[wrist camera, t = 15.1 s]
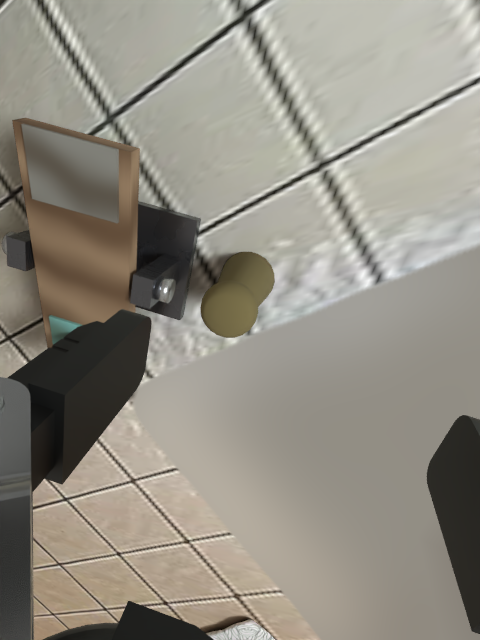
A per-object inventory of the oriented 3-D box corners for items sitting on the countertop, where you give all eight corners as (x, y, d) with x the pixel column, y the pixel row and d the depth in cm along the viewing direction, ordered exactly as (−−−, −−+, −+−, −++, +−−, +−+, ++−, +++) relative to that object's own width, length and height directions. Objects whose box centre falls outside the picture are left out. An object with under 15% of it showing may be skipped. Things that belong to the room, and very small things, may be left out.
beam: (25, 117, 31) (9, 120, 30) (139, 148, 30) (128, 153, 29) (56, 345, 46) (46, 354, 45) (133, 369, 45) (126, 380, 44)
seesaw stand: (54, 177, 43) (-9, 184, 35) (202, 219, 41) (172, 236, 33) (53, 276, 48) (-2, 302, 40) (184, 316, 47) (155, 352, 38)
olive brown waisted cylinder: (214, 289, 44) (182, 330, 35) (232, 242, 42) (204, 272, 32) (261, 311, 44) (243, 358, 34) (283, 265, 42) (270, 302, 32)
